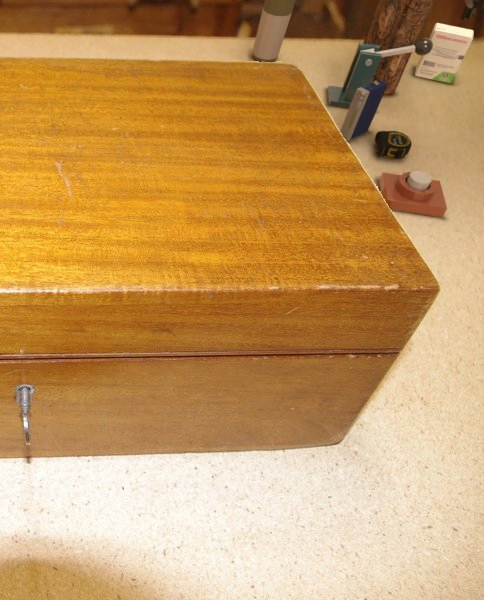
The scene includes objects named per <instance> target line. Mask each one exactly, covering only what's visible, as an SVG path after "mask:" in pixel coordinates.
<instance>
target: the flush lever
mask: <svg viewBox="0 0 484 600" xmlns="http://www.w3.org/2000/svg"><path fill="white" fill-rule="evenodd" d="M432 48H433V42H432V41H431V40H430V39H429V37H422V38H419V39H418V40H417V42H416V43H415V45H412V46H407V47H401V48H396V49H390V50H384V51H379V52H375V51H374V48H373V49H367V50H362V51H363V52H371V53H379V54H382V57H387V56H393V55H398V54H404V53H410V52H412V53H415V54H416V55H418V56H420V57H421V56H423V55H427V54H428V53H430V52H431V50H432ZM360 52H361V51H360Z"/></svg>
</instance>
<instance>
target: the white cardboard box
mask: <svg viewBox="0 0 484 600" xmlns="http://www.w3.org/2000/svg"><path fill="white" fill-rule="evenodd" d="M474 33H475V32H474V30H473V29H469V28H465V27H460V26H455V25H450V24H446V23H439V22H436V23H435V24H434V26H433V29H432V31H431V33H430V36H429V37H428V39H430V40H431V41H432V42H433V48H432V50H431V52H430V53H428V54H427V55H423V56H421V55H420V58H419V60H418V62H417V65H416V66H415V70H414V76H415V77H418V78H422V79H423V78H424V79H428V80H433V81H438V82H442V83H446V84H452V82H453V80H454V79H455V76H456V74H457V72H458V70H459V68H460V66H461V64H462V62H463V61H464V59H465V56H466V54H467V52H468V50H469V49H470V46H471V44H472V42H473V40H474Z"/></svg>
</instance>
